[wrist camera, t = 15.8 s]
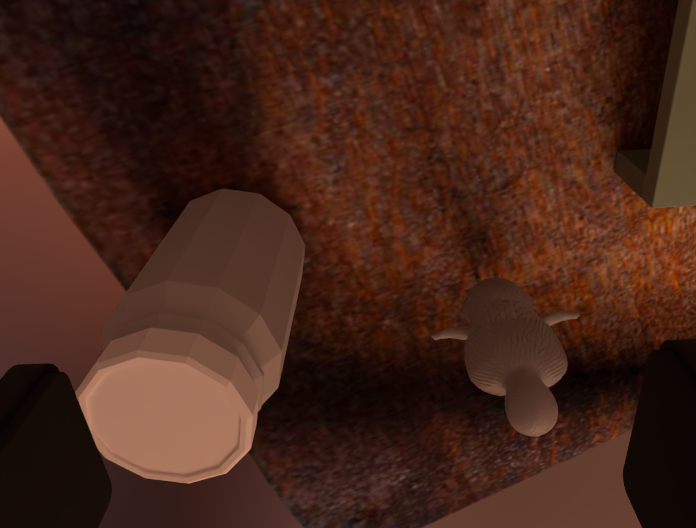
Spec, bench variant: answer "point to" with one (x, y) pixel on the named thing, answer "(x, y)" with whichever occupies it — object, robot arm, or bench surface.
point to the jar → (197, 341)
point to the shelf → (670, 127)
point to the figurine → (513, 352)
